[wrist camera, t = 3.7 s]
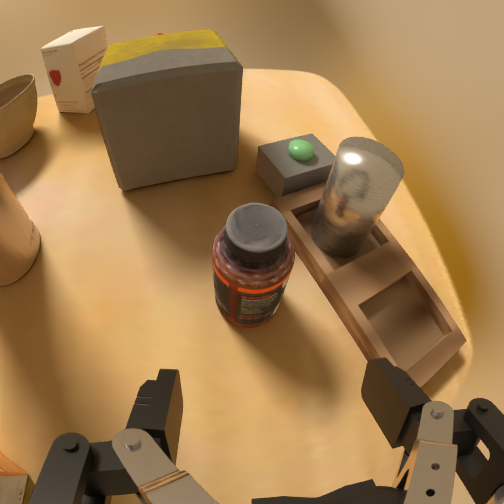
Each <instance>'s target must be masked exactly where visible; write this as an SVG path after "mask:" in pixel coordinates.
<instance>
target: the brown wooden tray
mask: <svg viewBox="0 0 504 504" xmlns="http://www.w3.org/2000/svg"><path fill="white" fill-rule="evenodd" d="M326 183H327V182H324V183H321V184H318V185H315V186H312V187H309V188H306V189H303V190H300V191H297V192H294V193H291V194H288V195H285V196H282V197H280V198H277V199H274V200H272V204H271V207H274V208H275V209H277V210H278V211H279V212H280V213H281V214H282V215H283V216H284V218H285V220H286V222H287V225H288V234H289V236H290V237H291V239H292V241H293V245H294V250H295V251H296V253H297V254H298V256H299V257H300V259H301V260H302V262H303V263H304V265H305V266H306V267H307V269H308V270H309V272H310V273H311V275H312V276H313V278H314V279H315V281H316V282H317V284H318V285H319V287H320V288H321V290H322V291H323V293H324V294H325V296H326V297H327V299H328V300H329V302H330V303H331V305H332V306H333V308H334V309H335V311H336V312H337V314H338V315H339V317H340V318H341V320H342V322H343V323H344V325H345V326H346V328H347V329H348V331H349V332H350V334H351V335H352V337H353V339H354V340H355V342H356V343H357V345H358V346H359V348H360V350H361V351H362V353H363V354H364V356H365V357H366V359H367V361H369V360H370V359H377V358H383V357H386V358H387V359H388V360H389V361H390V362H391V363H392V364H393V366H397V367H399V368H401V369H402V370H404V371H406V373H407V374H408V375H409V376H410V377H411V379H413V380H414V382H415V383H416V385H418V386H419V387H422V386H423V385H424V384H425V383H426V382H427V381H428V380H429V379H430V378H431V377H432V376H433V375H434V374H435V373H436V372H437V371H438V370H439V369H440V368H441V367H442V366H443V365H444V364H445V363H446V362H447V361H448V360H449V359H450V358H451V357H452V356H453V355H454V354H455V353H456V352H457V351H458V350H459V349H460V347H461V346H462V345H463V344H464V343H465V342H466V341H467V340H466V339H465V337H464V336H463V334H462V332H461V331H460V329H459V327H458V326H457V324H456V323H455V321H454V320H453V318H452V317H451V315H450V313H449V312H448V310H447V309H446V307H445V306H444V304H443V303H442V301H441V300H440V298H439V297H438V296H437V294H436V293H435V291H434V290H433V288H432V287H431V285H430V284H429V283H428V281H427V280H426V278H425V277H424V276H423V274H422V273H421V272H420V270H419V269H418V267H417V266H416V265H415V263H414V262H413V261H412V259H411V258H410V257H409V255H408V254H407V253H406V252H405V250H404V249H403V248H402V246H401V245H400V244H399V243H398V241H397V240H396V239H395V237H394V236H393V235H392V234H391V233H390V231H389V230H388V229H387V228H386V226H385V225H384V224H383V223H382V221H381V220H380V219H379V220H378V221H377V223H376V224H375V226H374V228H373V229H372V231H371V233H370V234H369V236H368V237H367V239H366V241H365V242H364V244H363V245H362V247H361V249H360V250H359V251H358V253H356V254H355V255H353V256H351V257H348V258H336V257H333V256H330V255H328V254H326V253H324V252H323V251H321V250H320V249H319V248H318V247H317V246H316V244H315V243H314V241H313V239H312V236H311V225H312V222H313V220H314V217H315V214H316V211H317V209H318V206H319V203H320V200H321V198H322V195H323V192H324V189H325V186H326Z"/></svg>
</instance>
